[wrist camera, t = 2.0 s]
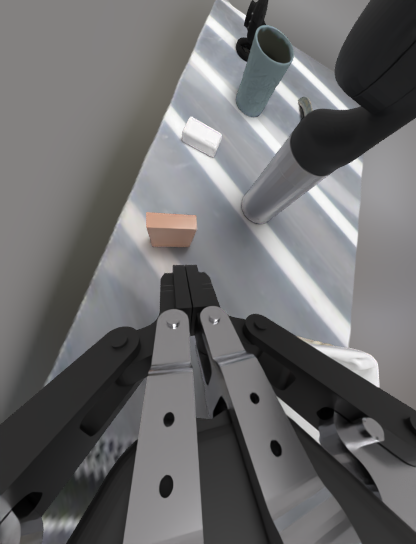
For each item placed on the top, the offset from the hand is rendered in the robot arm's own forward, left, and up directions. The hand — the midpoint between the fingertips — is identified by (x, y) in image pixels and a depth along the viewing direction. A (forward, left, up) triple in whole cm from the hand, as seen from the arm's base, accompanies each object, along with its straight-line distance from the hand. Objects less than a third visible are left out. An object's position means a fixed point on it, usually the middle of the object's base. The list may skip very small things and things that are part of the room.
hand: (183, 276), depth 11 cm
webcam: (-72, -28, -25) cm, 82 cm away
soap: (-34, -18, -25) cm, 46 cm away
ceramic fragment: (-69, -1, -25) cm, 73 cm away
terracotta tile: (-8, -7, -25) cm, 27 cm away
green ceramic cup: (-56, -16, -25) cm, 64 cm away
